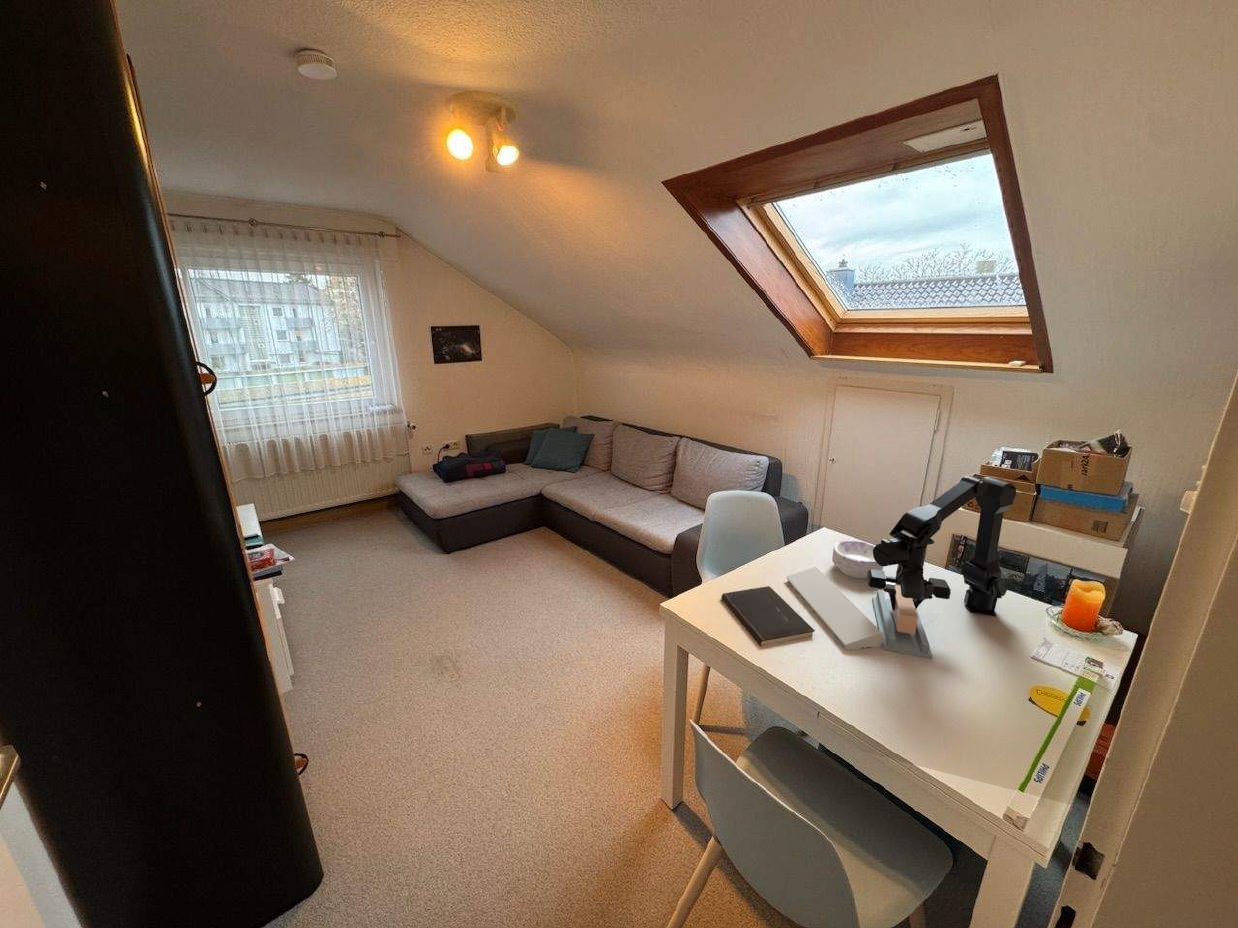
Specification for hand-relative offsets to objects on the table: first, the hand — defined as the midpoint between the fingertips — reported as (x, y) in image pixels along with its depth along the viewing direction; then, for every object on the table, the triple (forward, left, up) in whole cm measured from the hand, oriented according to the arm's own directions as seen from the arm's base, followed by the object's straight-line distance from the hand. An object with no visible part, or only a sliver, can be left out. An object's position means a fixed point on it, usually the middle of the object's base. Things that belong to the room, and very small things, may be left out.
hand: (902, 611), depth 135 cm
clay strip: (0, 0, -1) cm, 1 cm away
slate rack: (0, 0, -5) cm, 5 cm away
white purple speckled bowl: (+9, -29, -5) cm, 30 cm away
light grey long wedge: (+18, -2, -6) cm, 19 cm away
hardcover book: (+35, +7, -6) cm, 36 cm away
